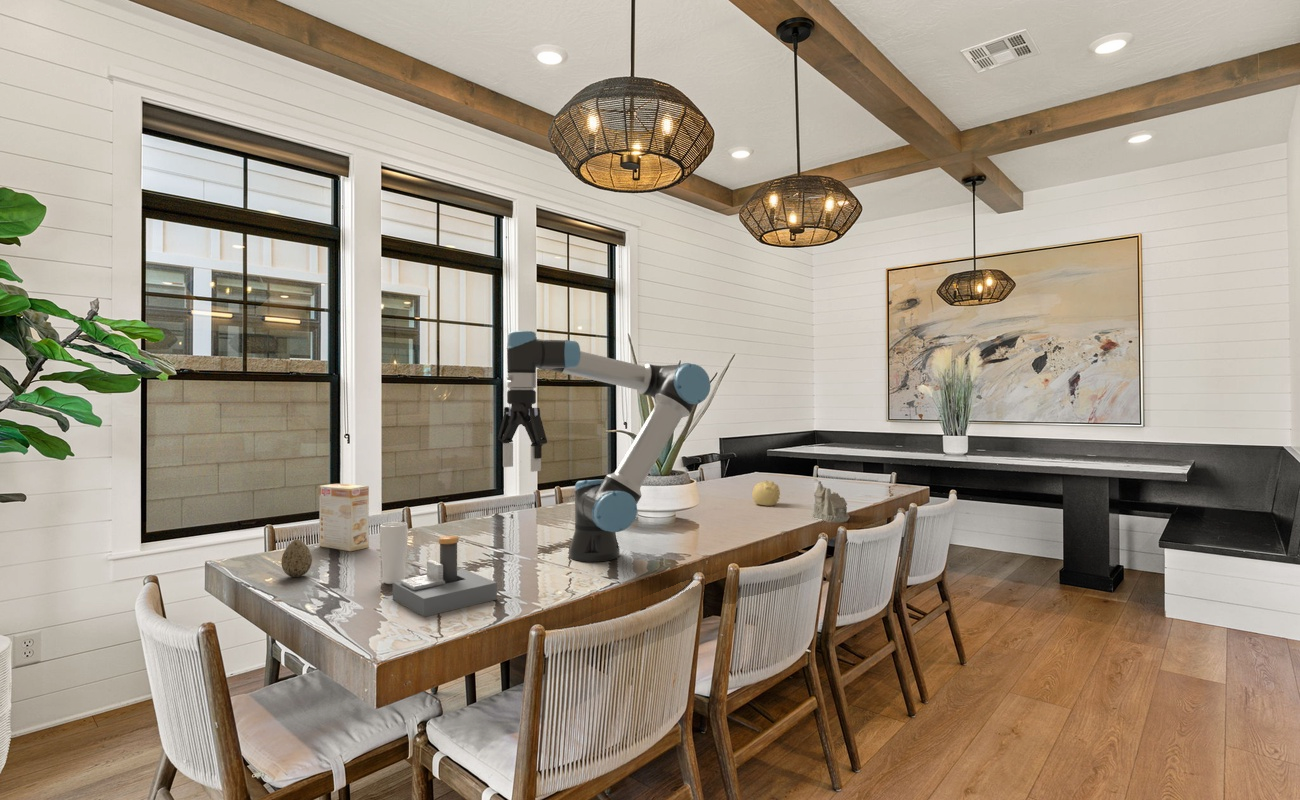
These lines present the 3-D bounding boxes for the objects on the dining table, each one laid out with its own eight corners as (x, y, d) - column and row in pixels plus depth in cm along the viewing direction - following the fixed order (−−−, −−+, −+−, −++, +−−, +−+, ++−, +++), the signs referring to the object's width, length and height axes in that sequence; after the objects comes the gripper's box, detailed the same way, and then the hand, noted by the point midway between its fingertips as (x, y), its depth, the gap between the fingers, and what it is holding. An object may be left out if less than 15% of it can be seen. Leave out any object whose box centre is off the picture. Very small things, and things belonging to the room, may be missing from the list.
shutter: (430, 577, 160) (430, 559, 160) (445, 583, 155) (445, 565, 155) (400, 583, 155) (400, 564, 155) (414, 590, 150) (413, 571, 150)
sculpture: (777, 508, 282) (777, 482, 282) (749, 506, 287) (749, 481, 286) (782, 503, 293) (782, 479, 293) (755, 502, 297) (755, 478, 297)
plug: (453, 591, 163) (453, 535, 162) (461, 595, 159) (461, 538, 159) (435, 595, 159) (435, 537, 159) (444, 599, 156) (443, 540, 156)
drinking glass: (386, 578, 174) (386, 521, 174) (411, 578, 174) (411, 521, 174) (375, 585, 168) (375, 526, 167) (401, 585, 167) (401, 526, 167)
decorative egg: (317, 575, 176) (317, 538, 176) (291, 582, 170) (291, 543, 170) (301, 571, 180) (301, 535, 180) (275, 578, 174) (275, 540, 174)
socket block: (462, 584, 169) (462, 568, 169) (496, 599, 157) (496, 582, 156) (392, 599, 157) (392, 582, 157) (423, 616, 144) (423, 598, 144)
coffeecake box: (369, 547, 209) (369, 485, 209) (350, 552, 203) (350, 488, 202) (338, 542, 216) (338, 482, 216) (318, 546, 210) (318, 485, 209)
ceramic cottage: (826, 523, 249) (828, 483, 250) (805, 516, 265) (806, 479, 266) (862, 523, 253) (864, 484, 254) (839, 517, 269) (841, 480, 270)
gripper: (485, 389, 182) (485, 466, 182) (535, 389, 164) (535, 474, 164) (509, 389, 187) (509, 464, 188) (560, 389, 169) (560, 471, 169)
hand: (521, 469), depth 176 cm, fingers open, 13 cm apart
